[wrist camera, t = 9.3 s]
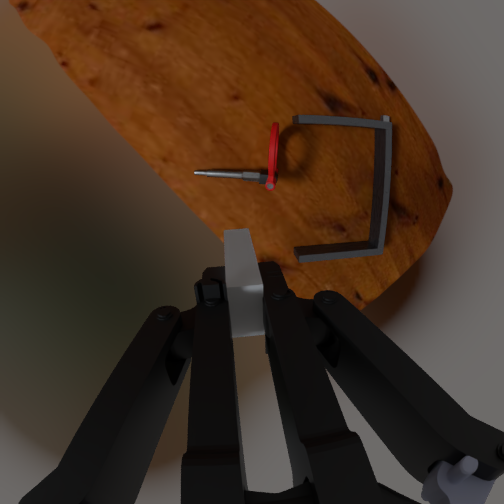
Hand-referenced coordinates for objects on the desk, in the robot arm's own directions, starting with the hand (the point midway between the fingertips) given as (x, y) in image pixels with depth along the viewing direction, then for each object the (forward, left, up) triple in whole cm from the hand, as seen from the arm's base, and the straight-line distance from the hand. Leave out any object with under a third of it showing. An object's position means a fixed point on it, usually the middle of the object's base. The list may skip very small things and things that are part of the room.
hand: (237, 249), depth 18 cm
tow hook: (-9, +1, -16) cm, 19 cm away
